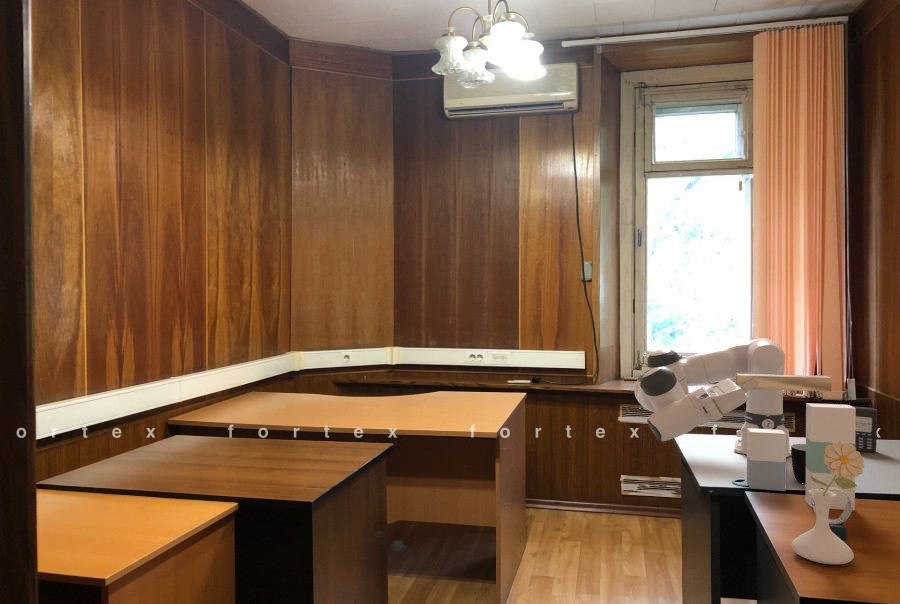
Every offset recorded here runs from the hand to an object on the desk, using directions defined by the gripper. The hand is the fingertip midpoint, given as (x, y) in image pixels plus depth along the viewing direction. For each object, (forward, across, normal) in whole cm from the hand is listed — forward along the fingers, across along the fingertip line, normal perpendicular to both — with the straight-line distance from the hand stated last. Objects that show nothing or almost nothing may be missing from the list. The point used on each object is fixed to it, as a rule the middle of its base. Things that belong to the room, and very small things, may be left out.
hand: (754, 379), depth 171 cm
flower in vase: (-10, +36, -32) cm, 49 cm away
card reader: (+24, -65, -51) cm, 86 cm away
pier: (-11, -13, -31) cm, 35 cm away
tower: (0, 0, -37) cm, 37 cm away
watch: (-6, +22, -34) cm, 41 cm away
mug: (0, -23, -37) cm, 43 cm away
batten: (+5, 0, -5) cm, 7 cm away
